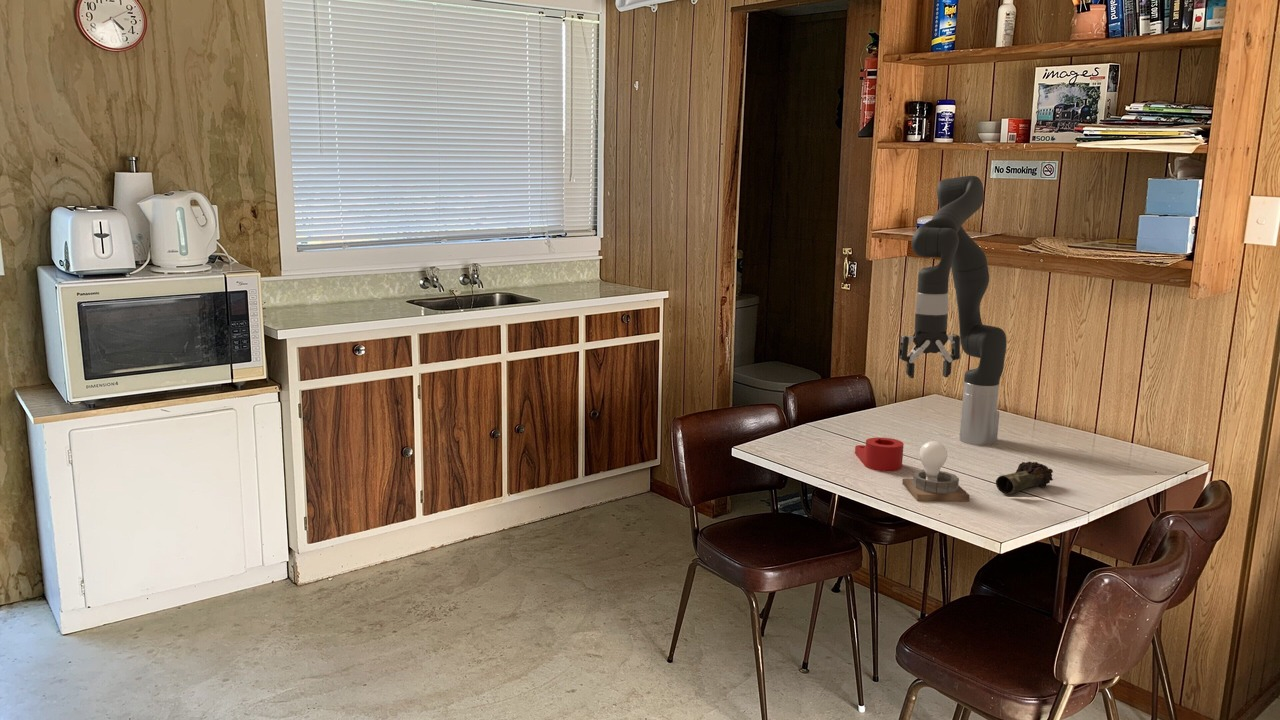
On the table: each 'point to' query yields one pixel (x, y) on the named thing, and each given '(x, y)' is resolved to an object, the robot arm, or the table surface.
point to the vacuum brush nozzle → (1024, 478)
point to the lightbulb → (932, 459)
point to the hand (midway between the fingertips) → (928, 377)
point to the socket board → (933, 495)
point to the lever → (881, 454)
